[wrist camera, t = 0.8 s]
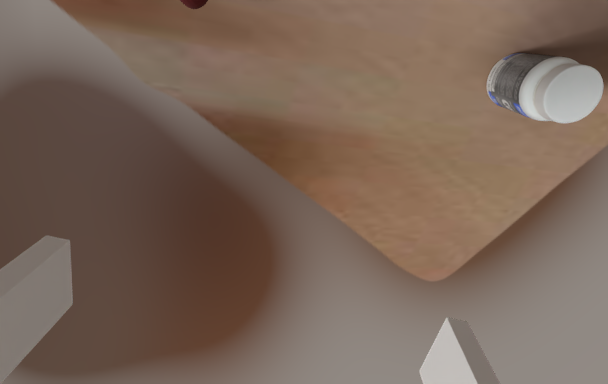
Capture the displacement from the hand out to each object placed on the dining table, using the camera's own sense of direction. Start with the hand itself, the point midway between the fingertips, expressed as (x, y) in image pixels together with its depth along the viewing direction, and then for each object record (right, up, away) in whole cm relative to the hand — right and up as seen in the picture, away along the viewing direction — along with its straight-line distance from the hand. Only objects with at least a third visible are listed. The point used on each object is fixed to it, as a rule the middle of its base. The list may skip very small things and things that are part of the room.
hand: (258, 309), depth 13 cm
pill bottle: (+21, +14, +20) cm, 32 cm away
